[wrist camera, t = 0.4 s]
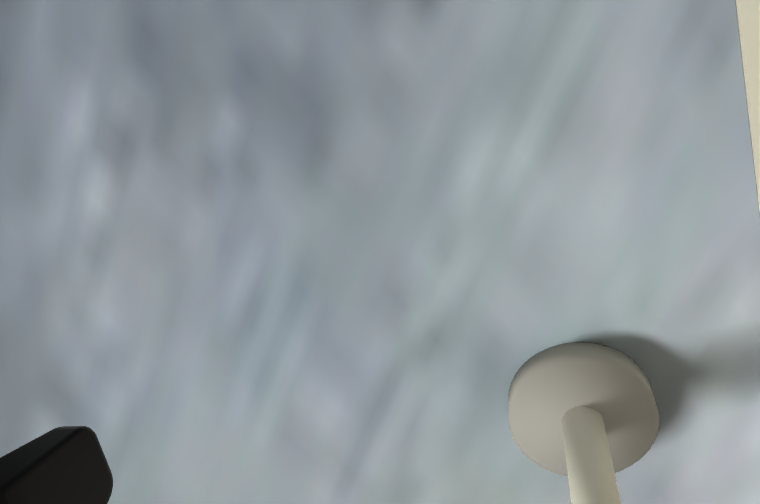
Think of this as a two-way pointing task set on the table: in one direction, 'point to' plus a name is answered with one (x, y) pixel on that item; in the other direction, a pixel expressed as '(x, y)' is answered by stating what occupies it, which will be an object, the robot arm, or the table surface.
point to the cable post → (583, 416)
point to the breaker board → (751, 71)
